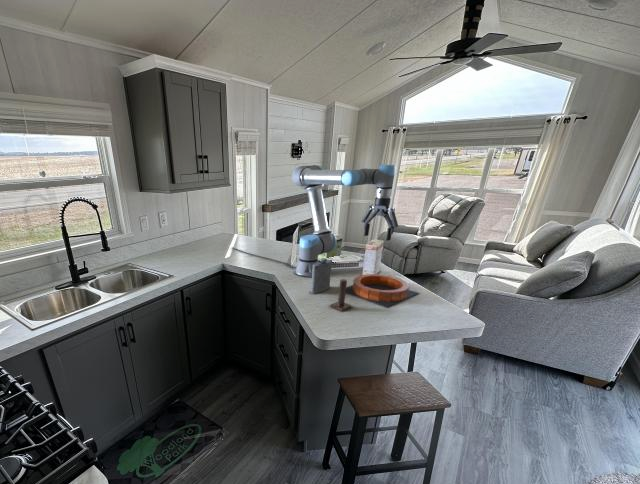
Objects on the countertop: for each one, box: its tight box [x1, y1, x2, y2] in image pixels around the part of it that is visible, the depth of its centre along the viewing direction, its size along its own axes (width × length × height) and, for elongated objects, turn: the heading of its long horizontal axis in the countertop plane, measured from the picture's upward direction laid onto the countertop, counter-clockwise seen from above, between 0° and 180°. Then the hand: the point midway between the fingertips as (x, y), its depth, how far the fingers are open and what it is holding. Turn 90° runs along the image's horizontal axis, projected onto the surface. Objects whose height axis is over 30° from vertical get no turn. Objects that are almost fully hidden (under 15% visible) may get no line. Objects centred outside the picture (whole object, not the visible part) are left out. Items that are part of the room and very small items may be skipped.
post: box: [330, 278, 352, 312], centre depth 157 cm, size 7×7×14 cm
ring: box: [352, 273, 410, 302], centre depth 175 cm, size 27×27×5 cm
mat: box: [345, 284, 419, 308], centre depth 176 cm, size 28×28×1 cm
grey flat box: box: [310, 258, 333, 295], centre depth 177 cm, size 4×14×18 cm, turn 129°
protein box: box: [318, 236, 343, 258], centre depth 227 cm, size 10×16×16 cm
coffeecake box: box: [361, 238, 385, 275], centre depth 199 cm, size 15×7×20 cm, turn 145°
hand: (376, 237), depth 177 cm, fingers open, 13 cm apart
